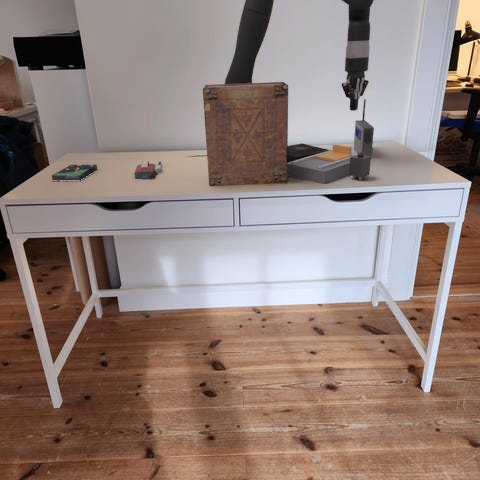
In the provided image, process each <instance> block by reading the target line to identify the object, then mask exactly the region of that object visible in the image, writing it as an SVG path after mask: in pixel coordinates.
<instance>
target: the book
mask: <svg viewBox="0 0 480 480" xmlns="http://www.w3.org/2000/svg"><path fill="white" fill-rule="evenodd" d="M202 97H203V98H202V99H203V110H204V111H203V114H204V126H205V127H204V128H205V143H206V144H205V145H206V156H207V159H206V160H207V173H208V186H210V187H221V186H222V187H223V186H224V187H225V186H240V185H241V186H245V185H247V186H248V185H264V184H269V185H271V184H286V183H287V182H288V175H287V149H288V146H289V145H288V143H289V142H288V140H289V137H288V136H289V135H288V134H289V128H288V127H289V84H287V83H286V82H284V81H276V82H275V81H273V82H272V81H271V82H270V81H269V82H252V83H242V84H225V83H222V84H221V83H219V84H218V83H217V84H216V83H214V84H205V85H204V87H203V88H202Z"/></svg>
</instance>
